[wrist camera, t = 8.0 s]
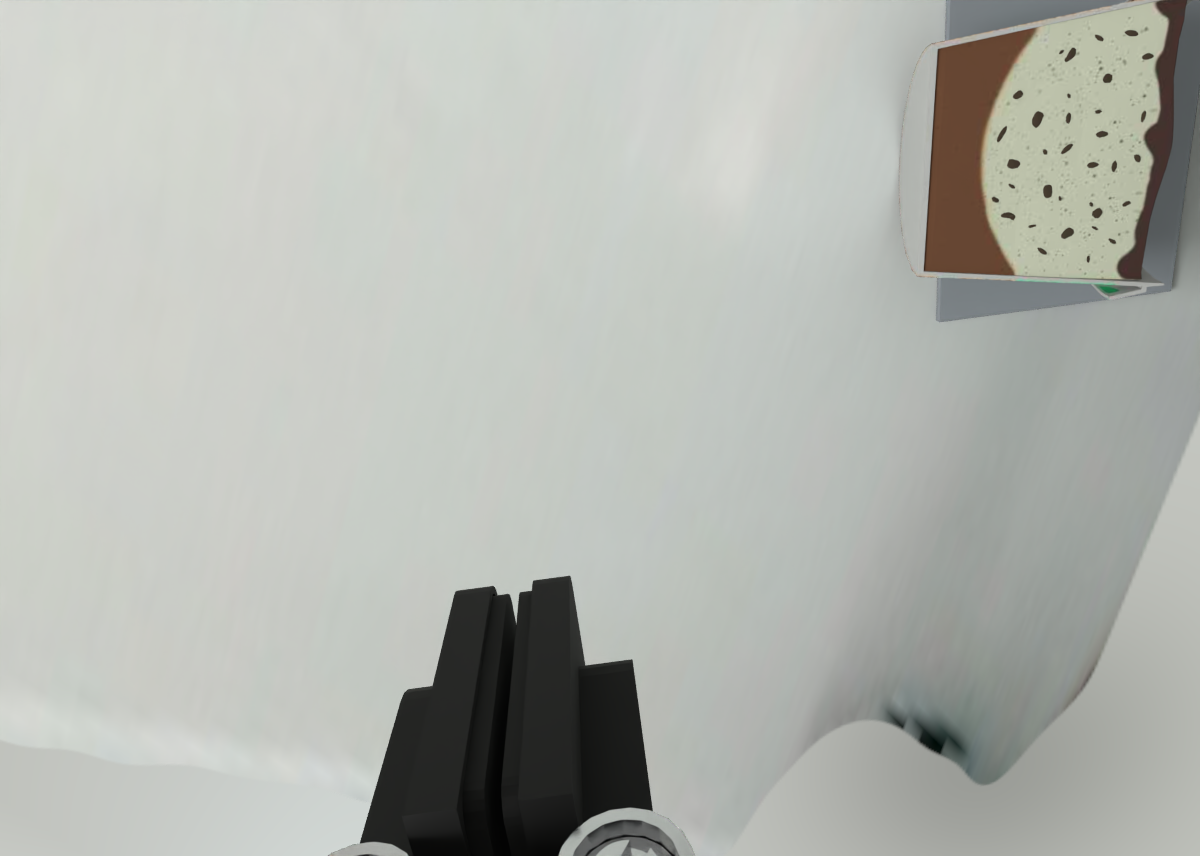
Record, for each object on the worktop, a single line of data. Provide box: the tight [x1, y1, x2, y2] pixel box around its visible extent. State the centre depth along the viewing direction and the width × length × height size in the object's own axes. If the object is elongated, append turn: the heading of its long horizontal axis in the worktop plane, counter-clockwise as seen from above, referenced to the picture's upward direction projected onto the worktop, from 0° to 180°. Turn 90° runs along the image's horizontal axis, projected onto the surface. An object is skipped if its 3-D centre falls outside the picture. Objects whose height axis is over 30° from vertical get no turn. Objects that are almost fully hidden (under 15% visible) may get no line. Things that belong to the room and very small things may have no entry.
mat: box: [936, 0, 1200, 322], centre depth 37 cm, size 16×12×1 cm
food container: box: [899, 0, 1193, 300], centre depth 34 cm, size 12×6×10 cm
